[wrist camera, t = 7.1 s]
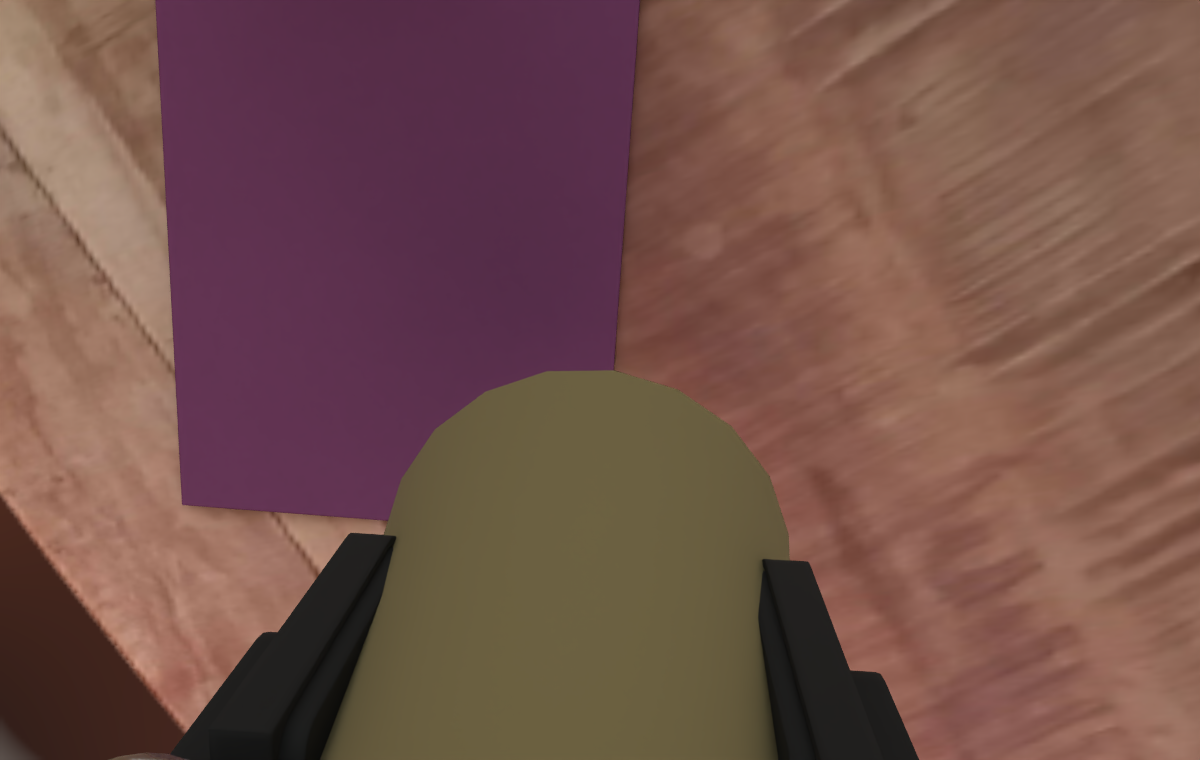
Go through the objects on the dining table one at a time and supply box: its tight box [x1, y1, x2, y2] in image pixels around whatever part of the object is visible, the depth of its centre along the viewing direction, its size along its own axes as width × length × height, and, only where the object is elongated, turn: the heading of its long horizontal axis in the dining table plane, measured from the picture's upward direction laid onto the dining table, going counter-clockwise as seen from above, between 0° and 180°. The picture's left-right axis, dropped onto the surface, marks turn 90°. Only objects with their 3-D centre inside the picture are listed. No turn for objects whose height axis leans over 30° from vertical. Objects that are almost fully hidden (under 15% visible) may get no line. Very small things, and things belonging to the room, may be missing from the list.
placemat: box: [155, 0, 640, 521], centre depth 33 cm, size 20×16×1 cm
